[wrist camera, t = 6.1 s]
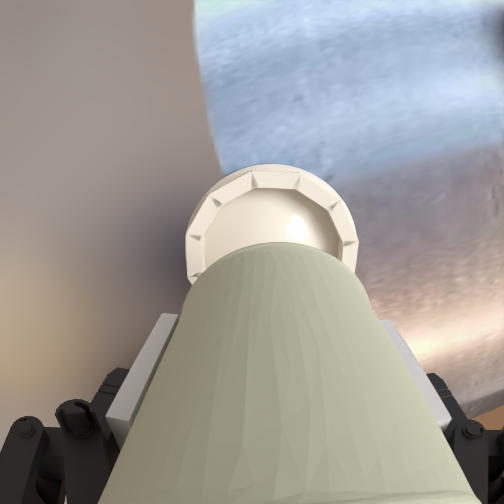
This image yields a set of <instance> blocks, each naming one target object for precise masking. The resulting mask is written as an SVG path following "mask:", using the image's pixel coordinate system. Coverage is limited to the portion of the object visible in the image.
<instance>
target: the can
mask: <svg viewBox="0 0 504 504" xmlns="http://www.w3.org/2000/svg"><path fill="white" fill-rule="evenodd" d="M98 504H481V502H480V500H479V499H477V497H476V496H475V494H474V493H473V491H472V489H471V487H470V485H469V483H468V481H467V479H466V477H465V475H464V473H463V471H462V469H461V467H460V466H459V464H458V462H457V460H456V458H455V456H454V454H453V452H452V450H451V448H450V446H449V444H448V442H447V440H446V438H445V436H444V434H443V432H442V430H441V429H440V427H439V425H438V423H437V421H436V419H435V417H434V415H433V414H432V412H431V410H430V408H429V406H428V404H427V403H426V401H425V399H424V397H423V395H422V394H421V392H420V390H419V388H418V387H417V385H416V383H415V381H414V380H413V378H412V376H411V374H410V372H409V371H408V369H407V367H406V365H405V363H404V362H403V360H402V358H401V356H400V355H399V353H398V351H397V349H396V348H395V346H394V344H393V342H392V341H391V339H390V337H389V336H388V334H387V332H386V331H385V329H384V327H383V326H382V324H381V322H380V320H379V319H378V317H377V315H376V314H375V312H374V310H373V308H372V307H371V305H370V302H369V298H368V295H367V293H366V291H365V289H364V287H363V285H362V284H361V282H360V281H359V279H358V278H357V276H356V275H355V274H354V273H353V272H352V271H351V270H350V269H349V268H348V267H347V266H346V265H345V264H343V263H342V262H341V261H340V260H338V259H337V258H335V257H334V256H332V255H330V254H328V253H326V252H324V251H322V250H320V249H317V248H314V247H311V246H307V245H303V244H298V243H291V242H267V243H259V244H255V245H251V246H247V247H243V248H241V249H238V250H236V251H233V252H231V253H229V254H227V255H225V256H223V257H222V258H220V259H219V260H217V261H215V262H214V263H213V264H211V265H210V266H209V267H208V268H207V269H206V270H205V271H204V272H202V274H201V275H200V276H199V277H198V278H197V280H196V281H195V282H194V284H193V285H192V287H191V288H190V290H189V292H188V294H187V296H186V298H185V301H184V303H183V307H182V311H181V316H180V319H179V322H178V324H177V326H176V328H175V331H174V333H173V335H172V338H171V340H170V342H169V344H168V346H167V349H166V351H165V353H164V355H163V357H162V359H161V362H160V364H159V366H158V368H157V371H156V373H155V375H154V377H153V379H152V382H151V384H150V386H149V388H148V391H147V393H146V395H145V398H144V400H143V402H142V404H141V407H140V409H139V411H138V413H137V416H136V418H135V420H134V422H133V424H132V427H131V429H130V431H129V433H128V436H127V438H126V440H125V443H124V445H123V447H122V449H121V452H120V454H119V456H118V459H117V461H116V463H115V465H114V468H113V470H112V472H111V475H110V477H109V480H108V482H107V484H106V487H105V489H104V491H103V493H102V495H101V497H100V500H99V502H98Z"/></svg>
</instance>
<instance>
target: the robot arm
mask: <svg viewBox="0 0 504 504" xmlns="http://www.w3.org/2000/svg"><path fill="white" fill-rule="evenodd" d="M178 322H179V316H178V314H167V313H162V314H161V316H160V318H159V319H158V321H157V323H156V325H155V327H154V328H153V330H152V332H151V334H150V335H149V337H148V339H147V341H146V342H145V344H144V346H143V348H142V349H141V351H140V353H139V355H138V357H137V358H136V360H135V362H134V364H133V366H132V367H131V369H123V368H116V369H115V370H113V371H112V372H111V373H109V374H108V375H107V377H106V378H105V380H104V382H103V384H102V385H101V386H100V388H99V390H98V392H97V393H96V395H95V396H94V398H93V400H92V402H91V403H88V402H87V401H84V400H81V399H73V400H69V401H66V402H64V403H62V404H61V405H60V406H59V407H58V408H57V410H56V413H55V416H56V418H57V420H58V422H59V424H60V427H61V428H57V427H44V426H43V424H42V422H41V421H40V420H39V419H38V418H36V417H33V416H25V417H22V418H19V419H18V420H16V421H15V422H14V423H13V425H12V426H11V428H10V431H9V433H8V435H7V437H6V440H5V443H4V445H3V447H2V450H1V452H0V504H64V502H65V496H66V498H67V504H98V502H99V500H100V497H101V495H102V493H103V491H104V489H105V487H106V484H107V482H108V480H109V477H110V475H111V472H112V470H113V468H114V465H115V463H116V461H117V459H118V456H119V454H120V452H121V449H122V447H123V445H124V443H125V440H126V438H127V436H128V433H129V431H130V429H131V427H132V424H133V422H134V420H135V418H136V416H137V413H138V411H139V409H140V407H141V404H142V402H143V400H144V398H145V395H146V393H147V391H148V388H149V386H150V384H151V382H152V379H153V377H154V375H155V373H156V371H157V368H158V366H159V364H160V362H161V359H162V357H163V355H164V353H165V351H166V349H167V346H168V344H169V342H170V340H171V338H172V335H173V333H174V331H175V328H176V326H177V324H178ZM380 322H381V324H382V326H383V327H384V329H385V331H386V332H387V334H388V336H389V337H390V339H391V341H392V342H393V344H394V346H395V348H396V349H397V351H398V353H399V355H400V356H401V358H402V360H403V362H404V363H405V365H406V367H407V369H408V371H409V372H410V374H411V376H412V378H413V380H414V381H415V383H416V385H417V387H418V388H419V390H420V392H421V394H422V395H423V397H424V399H425V401H426V403H427V404H428V406H429V408H430V410H431V412H432V414H433V415H434V417H435V419H436V421H437V423H438V425H439V427H440V429H441V430H442V432H443V434H444V436H445V438H446V440H447V442H448V444H449V446H450V448H451V450H452V452H453V454H454V456H455V458H456V460H457V462H458V464H459V466H460V467H461V469H462V471H463V473H464V475H465V477H466V479H467V481H468V483H469V485H470V487H471V489H472V491H473V493H474V494H475V496H476V497H477V499H479V500H480V502H481V504H504V427H503V428H502V430H485V428H484V427H483V425H482V424H480V423H479V422H477V421H474V420H471V419H467V418H466V416H465V414H464V413H463V411H462V409H461V408H460V406H459V405H458V403H457V401H456V400H455V398H454V397H452V393H451V392H450V390H448V387H447V386H446V384H445V382H444V381H443V380H442V379H441V378H440V377H439V376H437V375H436V374H435V373H429V374H425V372H424V370H423V369H422V367H421V366H420V364H419V362H418V361H417V359H416V358H415V356H414V354H413V353H412V351H411V350H410V348H409V347H408V345H407V343H406V342H405V340H404V339H403V337H402V336H401V334H400V333H399V331H398V330H397V328H396V327H395V325H394V324H393V322H392V321H391V320H380Z"/></svg>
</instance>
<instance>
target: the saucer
mask: <svg viewBox="0 0 504 504" xmlns="http://www.w3.org/2000/svg"><path fill="white" fill-rule="evenodd" d="M267 242H291V243H298V244H303V245H307V246H311V247H314V248H317V249H320V250H322V251H324V252H326V253H328V254H330V255H332V256H334V257H335V258H337V259H338V260H340V261H341V262H342V263H343V264H345V265H346V266H347V267H348V268H349V269H350V270H351V271H352V272H353V273H355V266H356V259H357V251H358V243H359V241H358V238H357V235H356V230H355V226H354V222H353V220H352V217H351V214H350V212H349V210H348V208H347V207H346V205H345V203H344V202H343V200H342V199H341V198H340V196H339V195H338V194H337V193H336V192H335V191H334V190H333V189H332V188H331V187H330V186H329V185H328V184H327V183H325V182H324V181H323V180H322V179H320V178H318V177H317V176H315V175H313V174H311V173H309V172H307V171H305V170H302V169H300V168H296V167H293V166H289V165H282V164H261V165H255V166H250V167H247V168H243V169H240V170H238V171H236V172H234V173H231V174H229V175H228V176H226V177H225V178H223V179H222V180H220V181H219V182H217V183H216V184H215V185H214V186H213V187H212V188H210V189H209V191H208V192H207V193H206V194H205V195H204V196H203V197H202V198H201V200H200V201H199V203H198V204H197V206H196V207H195V210H194V212H193V214H192V216H191V218H190V221H189V224H188V227H187V232H186V238H185V255H186V262H187V277H188V279H189V281H190V282H191V284H192V285H193V284H194V282H195V281H196V280H197V278H198V277H199V276H200V275H201V274H202V272H204V271H205V270H206V269H207V268H208V267H209V266H210V265H211V264H213V263H214V262H215V261H217V260H219V259H220V258H222V257H223V256H225V255H227V254H229V253H231V252H233V251H236V250H238V249H241V248H243V247H247V246H251V245H255V244H259V243H267Z"/></svg>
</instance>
